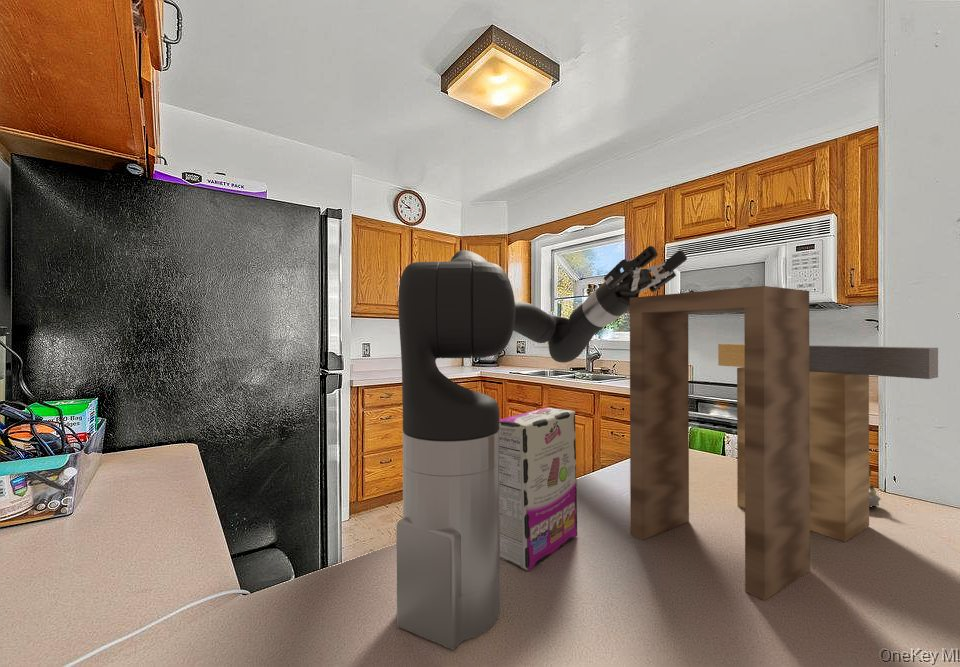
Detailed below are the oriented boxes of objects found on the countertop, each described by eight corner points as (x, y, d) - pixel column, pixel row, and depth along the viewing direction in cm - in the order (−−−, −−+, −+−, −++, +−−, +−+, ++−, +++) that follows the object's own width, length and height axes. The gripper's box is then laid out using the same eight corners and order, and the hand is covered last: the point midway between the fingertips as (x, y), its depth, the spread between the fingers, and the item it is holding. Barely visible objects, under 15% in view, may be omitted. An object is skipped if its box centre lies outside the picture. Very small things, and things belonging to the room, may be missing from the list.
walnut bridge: (764, 600, 41) (763, 285, 41) (630, 534, 55) (629, 297, 55) (809, 570, 47) (809, 290, 46) (677, 516, 60) (676, 300, 60)
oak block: (869, 526, 57) (868, 371, 57) (845, 542, 53) (844, 375, 53) (763, 495, 68) (763, 365, 68) (737, 505, 64) (737, 367, 64)
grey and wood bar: (938, 377, 50) (938, 347, 50) (929, 379, 48) (929, 348, 48) (730, 364, 70) (730, 343, 70) (718, 365, 68) (718, 343, 68)
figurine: (859, 511, 61) (863, 470, 61) (830, 500, 66) (834, 462, 66) (890, 515, 62) (894, 474, 62) (859, 504, 66) (863, 466, 66)
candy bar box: (546, 525, 58) (545, 406, 58) (578, 536, 54) (578, 410, 54) (493, 557, 50) (492, 418, 50) (527, 573, 46) (526, 424, 46)
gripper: (577, 285, 86) (635, 231, 74) (624, 288, 93) (683, 240, 81) (591, 316, 83) (653, 265, 71) (639, 317, 90) (702, 271, 78)
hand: (669, 252), depth 76 cm, fingers open, 8 cm apart
